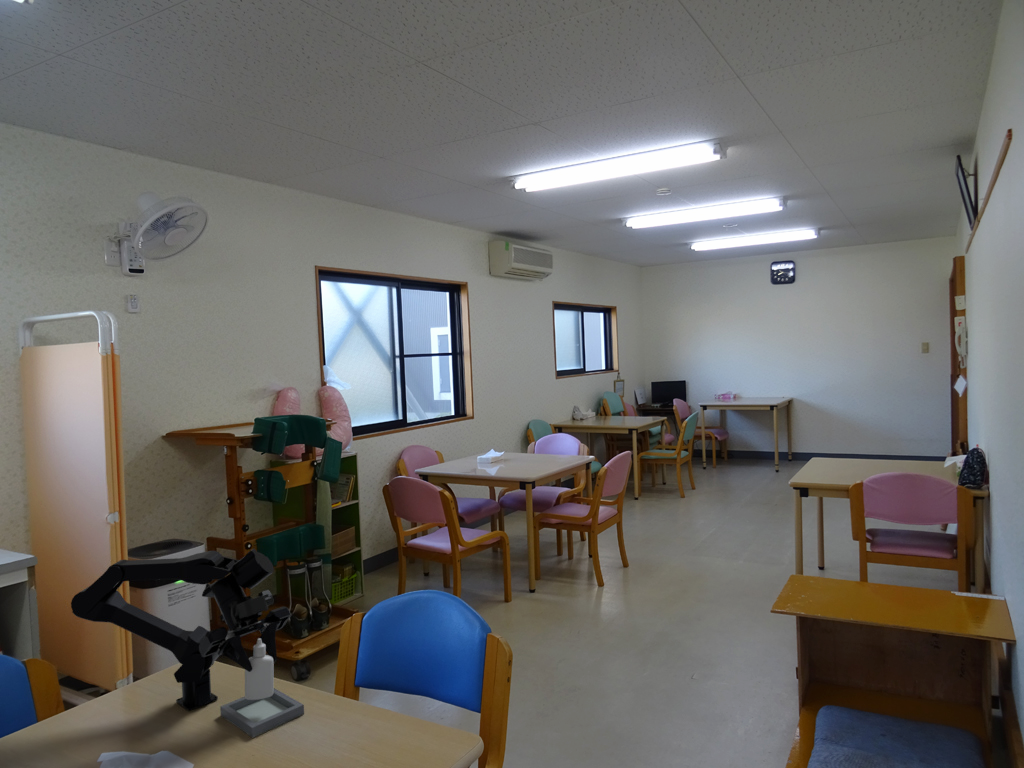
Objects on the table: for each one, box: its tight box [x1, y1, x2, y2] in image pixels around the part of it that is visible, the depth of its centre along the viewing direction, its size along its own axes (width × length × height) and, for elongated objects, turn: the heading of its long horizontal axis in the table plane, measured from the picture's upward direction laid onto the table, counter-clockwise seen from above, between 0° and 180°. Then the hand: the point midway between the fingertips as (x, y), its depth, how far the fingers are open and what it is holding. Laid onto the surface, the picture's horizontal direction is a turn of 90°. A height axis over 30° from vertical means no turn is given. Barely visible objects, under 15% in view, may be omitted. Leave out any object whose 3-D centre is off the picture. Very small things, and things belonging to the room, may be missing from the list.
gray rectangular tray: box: [219, 687, 305, 739], centre depth 144 cm, size 13×11×2 cm
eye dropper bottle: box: [244, 637, 275, 700], centre depth 144 cm, size 4×6×12 cm
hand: (263, 665), depth 143 cm, fingers closed on eye dropper bottle, 5 cm apart
